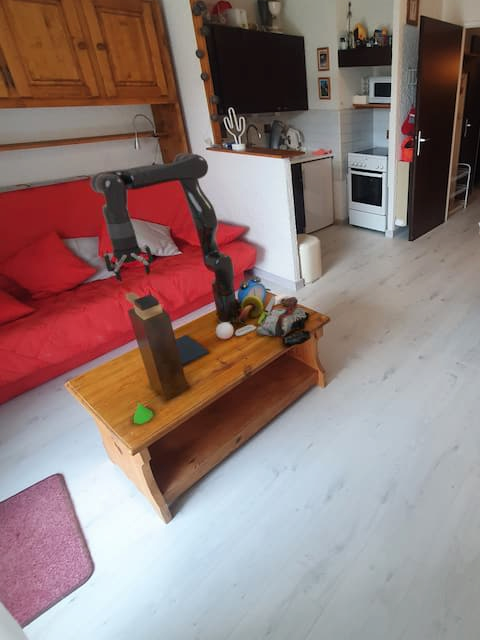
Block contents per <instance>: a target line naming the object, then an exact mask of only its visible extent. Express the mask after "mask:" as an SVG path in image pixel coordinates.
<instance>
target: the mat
mask: <svg viewBox="0 0 480 640" xmlns="http://www.w3.org/2000/svg"><path fill="white" fill-rule="evenodd" d="M175 339H176V343H177V347H178V351H179V355H180V359H181V363H182V367H184V366H186V365H188V364H190V363H192V362H194V361H196V360H198V359H200V358H201V357H204V356H206V355H208V354H209V351H208V350H207V349H206V348H205V347H204V346H202V345H201V344H199V343H198V342H197V341H196V340H194V339H193V338H191V337H190V336H189V335H188V334H184V335H182V336H180V337H178V338H175Z"/></svg>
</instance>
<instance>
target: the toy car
mask: <svg viewBox="0 0 480 640" xmlns="http://www.w3.org/2000/svg"><path fill="white" fill-rule="evenodd" d="M311 338H312V333H311V332H310V330H305V329H301V331H299V332H294V333H293V334H286V335H285V336H284V337H283V338H282V345H283V346H284V347H287V348H290V347H293V346H296V345H297V346H298V345H302V344H303V343H306V342H307V341H309V340H310V339H311Z"/></svg>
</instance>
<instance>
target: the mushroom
mask: <svg viewBox="0 0 480 640" xmlns="http://www.w3.org/2000/svg"><path fill="white" fill-rule="evenodd" d="M264 310H265V308H264V302H263V303H262V301H261V300H260V298H258V297H256V296H254V295H249V296H247V297H245V298H244V300H243V302H242V304H241V312H240V317H239V318H238V319H237V318H236V319H235V318H231V320H230V322H231V323H230V324H231V325H232V326H233V325H234V323H235V324H236V325H238V324H239V323H241V324H247V325H249V323H248V322H246V319H247V318H258V317H260V316H261V315H262V313H263V311H264Z"/></svg>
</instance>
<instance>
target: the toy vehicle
mask: <svg viewBox="0 0 480 640" xmlns="http://www.w3.org/2000/svg"><path fill="white" fill-rule="evenodd" d="M274 297H275V301H274V304H273V306H277V305H279V304H281V303H282V301H283V300H285V299H287V298H292V294H289V293H285V292H284V293H280V294H277V295H275V296H274ZM273 306H272V307H273Z"/></svg>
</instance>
